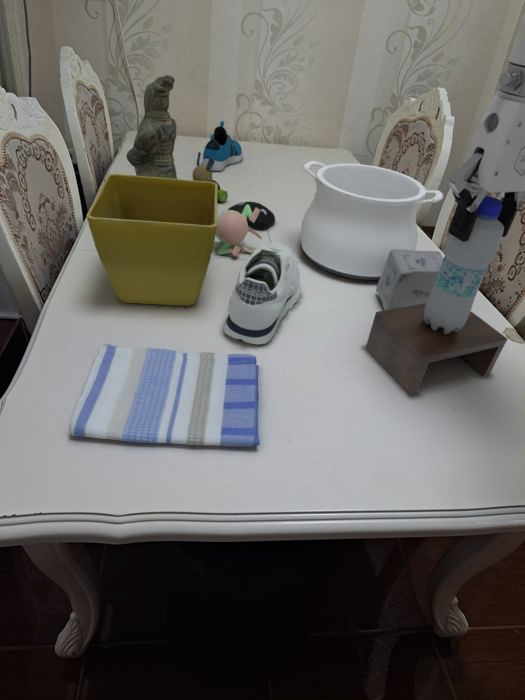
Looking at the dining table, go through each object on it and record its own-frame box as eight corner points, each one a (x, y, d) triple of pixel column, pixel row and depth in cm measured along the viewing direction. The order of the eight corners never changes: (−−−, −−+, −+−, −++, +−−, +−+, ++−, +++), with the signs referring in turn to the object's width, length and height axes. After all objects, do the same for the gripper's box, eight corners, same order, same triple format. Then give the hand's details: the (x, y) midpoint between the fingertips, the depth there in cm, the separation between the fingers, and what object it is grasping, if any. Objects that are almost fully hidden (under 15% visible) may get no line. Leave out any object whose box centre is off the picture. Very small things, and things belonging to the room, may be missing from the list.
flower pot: (212, 319, 82) (217, 225, 72) (96, 313, 80) (84, 216, 70) (213, 265, 97) (217, 181, 87) (116, 259, 95) (108, 173, 85)
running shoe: (305, 271, 99) (314, 217, 92) (286, 355, 76) (297, 292, 69) (252, 262, 100) (257, 207, 93) (218, 343, 77) (221, 278, 70)
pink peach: (275, 222, 102) (249, 212, 108) (246, 197, 95) (220, 187, 101) (245, 271, 103) (221, 258, 109) (214, 250, 96) (190, 237, 102)
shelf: (489, 374, 78) (507, 338, 74) (410, 396, 72) (425, 358, 67) (440, 332, 86) (453, 298, 82) (365, 348, 80) (375, 311, 76)
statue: (152, 209, 116) (147, 66, 98) (186, 220, 113) (187, 74, 95) (122, 225, 108) (110, 71, 90) (157, 236, 105) (152, 80, 87)
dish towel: (101, 353, 72) (99, 337, 71) (259, 365, 74) (261, 350, 72) (63, 441, 59) (60, 425, 57) (258, 454, 60) (260, 438, 58)
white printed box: (386, 318, 88) (402, 267, 82) (373, 294, 95) (387, 245, 88) (437, 319, 90) (456, 269, 83) (421, 295, 96) (437, 247, 90)
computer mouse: (235, 209, 122) (236, 193, 119) (278, 222, 118) (280, 206, 115) (219, 218, 116) (220, 202, 114) (263, 232, 112) (265, 216, 110)
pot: (271, 260, 101) (281, 176, 91) (312, 223, 120) (325, 149, 109) (404, 302, 93) (432, 215, 83) (426, 255, 112) (452, 179, 101)
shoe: (248, 154, 160) (251, 115, 153) (225, 174, 142) (227, 130, 134) (222, 149, 161) (224, 110, 154) (195, 168, 143) (196, 125, 136)
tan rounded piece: (229, 201, 126) (232, 156, 119) (204, 208, 120) (206, 162, 113) (205, 190, 130) (206, 146, 123) (180, 196, 125) (180, 151, 118)
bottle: (469, 340, 72) (527, 209, 60) (425, 336, 72) (474, 204, 60) (455, 315, 77) (506, 191, 65) (414, 311, 77) (457, 185, 65)
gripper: (505, 91, 49) (446, 253, 60) (614, 95, 55) (543, 241, 66) (454, 76, 54) (408, 228, 65) (559, 81, 61) (502, 219, 72)
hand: (477, 233), depth 66 cm, fingers closed on bottle, 6 cm apart
